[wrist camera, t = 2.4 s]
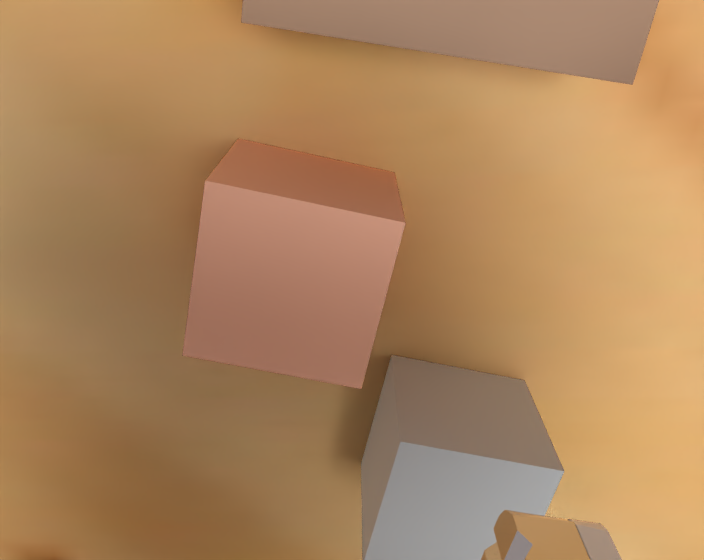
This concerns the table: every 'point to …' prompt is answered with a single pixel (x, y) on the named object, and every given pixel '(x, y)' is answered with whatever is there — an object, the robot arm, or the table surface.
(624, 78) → the walnut base block
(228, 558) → the table surface
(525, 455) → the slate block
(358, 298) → the terracotta cube
